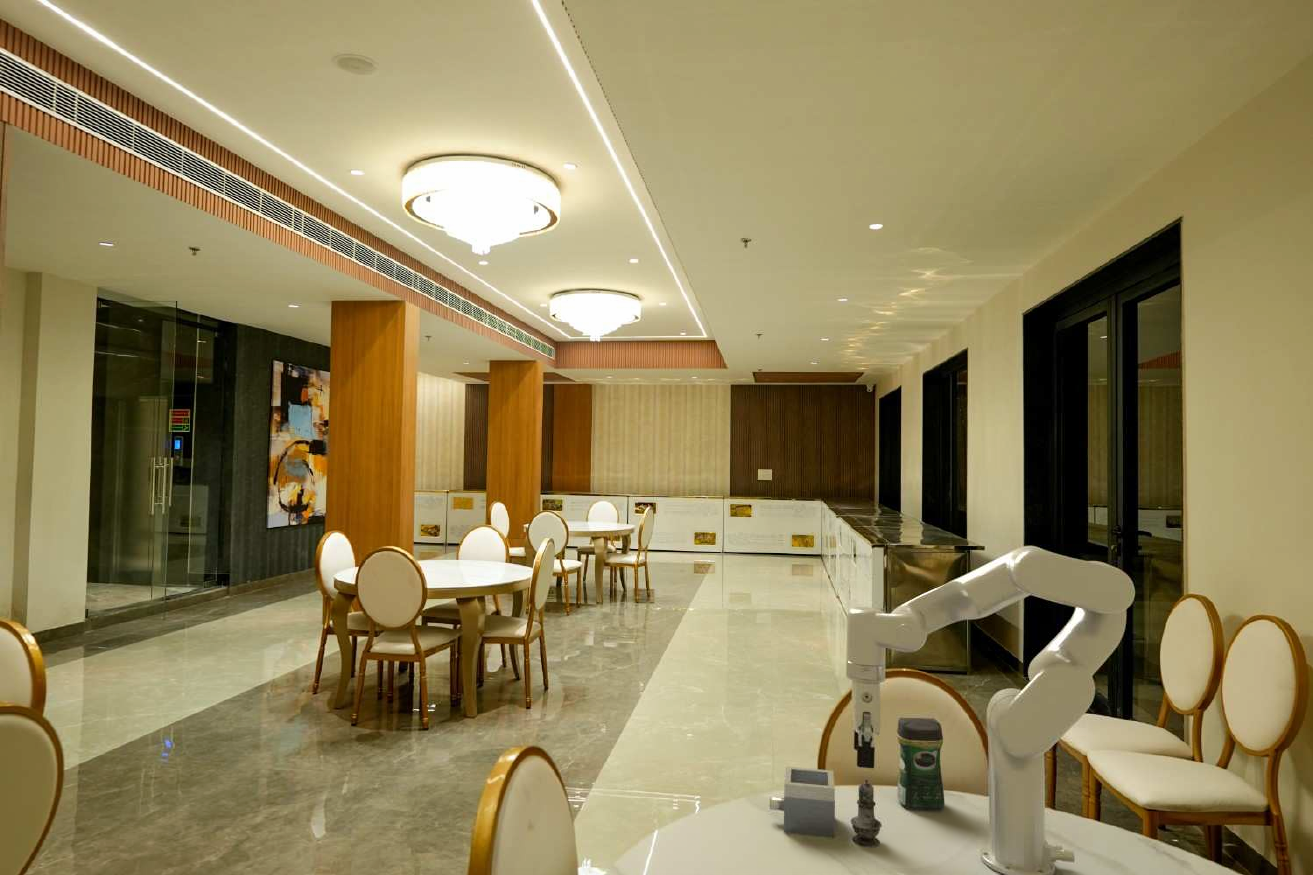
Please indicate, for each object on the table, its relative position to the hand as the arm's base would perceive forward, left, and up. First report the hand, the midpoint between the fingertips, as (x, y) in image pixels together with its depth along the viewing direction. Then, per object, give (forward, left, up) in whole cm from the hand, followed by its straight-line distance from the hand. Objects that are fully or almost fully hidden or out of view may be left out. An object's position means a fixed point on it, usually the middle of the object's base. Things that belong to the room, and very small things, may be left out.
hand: (863, 758), depth 153 cm
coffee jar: (-13, -21, -16) cm, 30 cm away
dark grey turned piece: (0, 0, -16) cm, 16 cm away
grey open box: (+12, -6, -16) cm, 21 cm away
